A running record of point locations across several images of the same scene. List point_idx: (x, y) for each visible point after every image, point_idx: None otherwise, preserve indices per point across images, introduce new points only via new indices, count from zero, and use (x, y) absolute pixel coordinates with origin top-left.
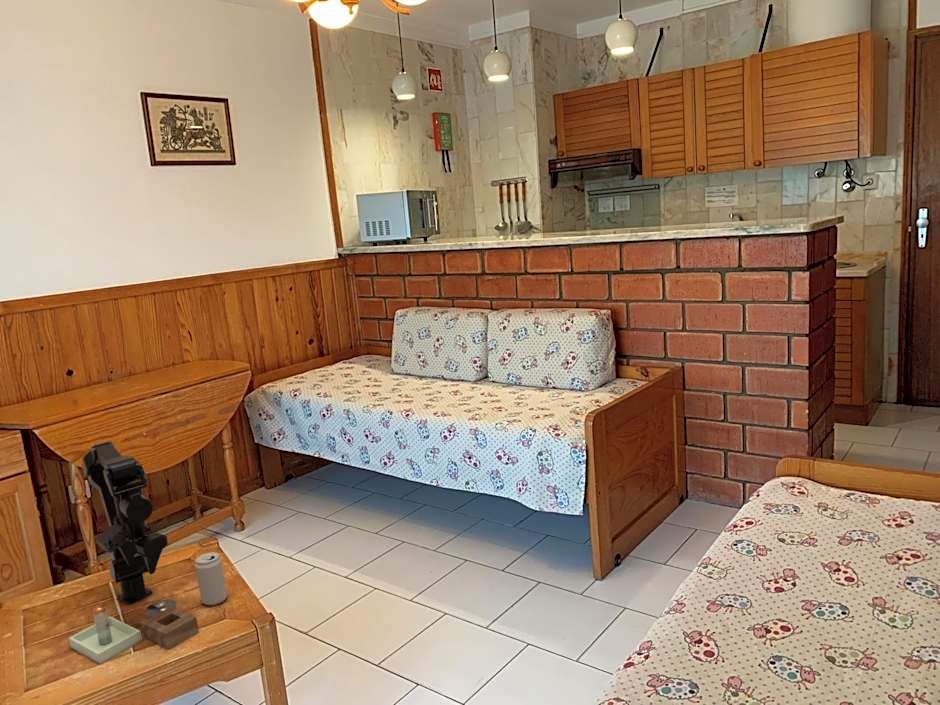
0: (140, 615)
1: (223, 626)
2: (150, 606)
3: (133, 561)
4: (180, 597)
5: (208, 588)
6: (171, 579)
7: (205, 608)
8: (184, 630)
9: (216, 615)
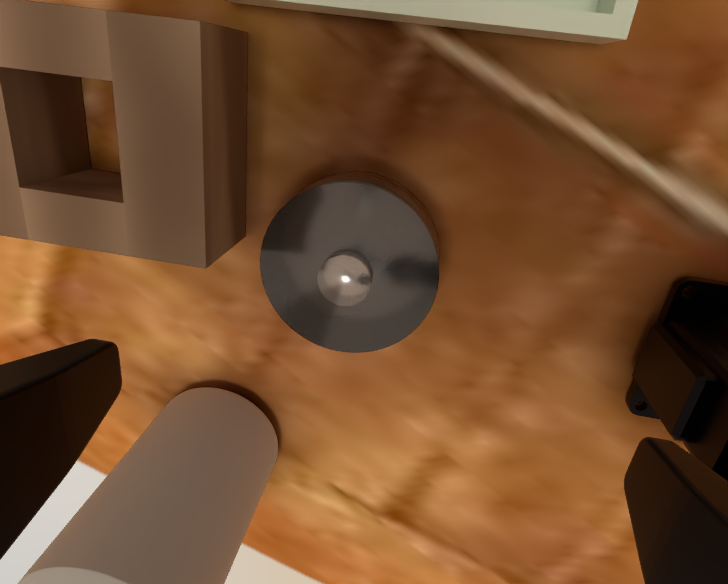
0: (497, 210)
1: None
2: (421, 255)
3: (634, 526)
4: (418, 409)
5: (131, 453)
6: (621, 522)
7: (203, 367)
8: None
9: (100, 337)
